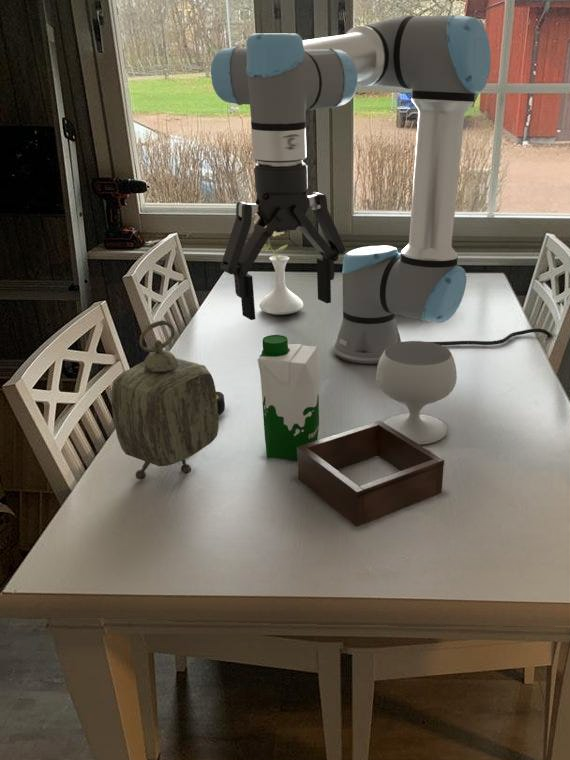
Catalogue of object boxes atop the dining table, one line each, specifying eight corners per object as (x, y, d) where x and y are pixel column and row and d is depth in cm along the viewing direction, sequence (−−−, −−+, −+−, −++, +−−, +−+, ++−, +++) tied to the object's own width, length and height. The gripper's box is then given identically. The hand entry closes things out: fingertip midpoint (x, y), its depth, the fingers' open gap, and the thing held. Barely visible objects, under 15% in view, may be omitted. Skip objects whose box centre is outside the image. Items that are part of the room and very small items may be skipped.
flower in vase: (312, 309, 191) (309, 210, 179) (285, 321, 183) (281, 218, 170) (273, 301, 197) (267, 204, 184) (245, 312, 189) (238, 211, 176)
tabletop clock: (186, 445, 127) (169, 304, 114) (227, 458, 123) (213, 314, 110) (124, 481, 116) (97, 331, 103) (166, 497, 112) (143, 343, 99)
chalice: (399, 455, 124) (403, 374, 117) (361, 422, 135) (362, 346, 127) (467, 438, 130) (474, 359, 122) (425, 408, 141) (430, 333, 133)
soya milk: (275, 436, 130) (269, 328, 120) (324, 441, 129) (322, 333, 118) (259, 459, 123) (251, 347, 112) (311, 465, 121) (308, 352, 111)
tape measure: (225, 405, 141) (223, 387, 139) (226, 421, 135) (224, 402, 133) (189, 408, 140) (186, 390, 138) (188, 423, 134) (186, 405, 132)
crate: (379, 451, 126) (380, 420, 123) (442, 493, 114) (444, 459, 111) (297, 479, 118) (296, 446, 114) (356, 527, 106) (356, 492, 103)
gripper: (210, 173, 93) (226, 332, 105) (367, 157, 106) (366, 300, 117) (186, 166, 99) (203, 317, 110) (338, 151, 111) (340, 288, 122)
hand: (287, 309), depth 113 cm, fingers open, 13 cm apart
